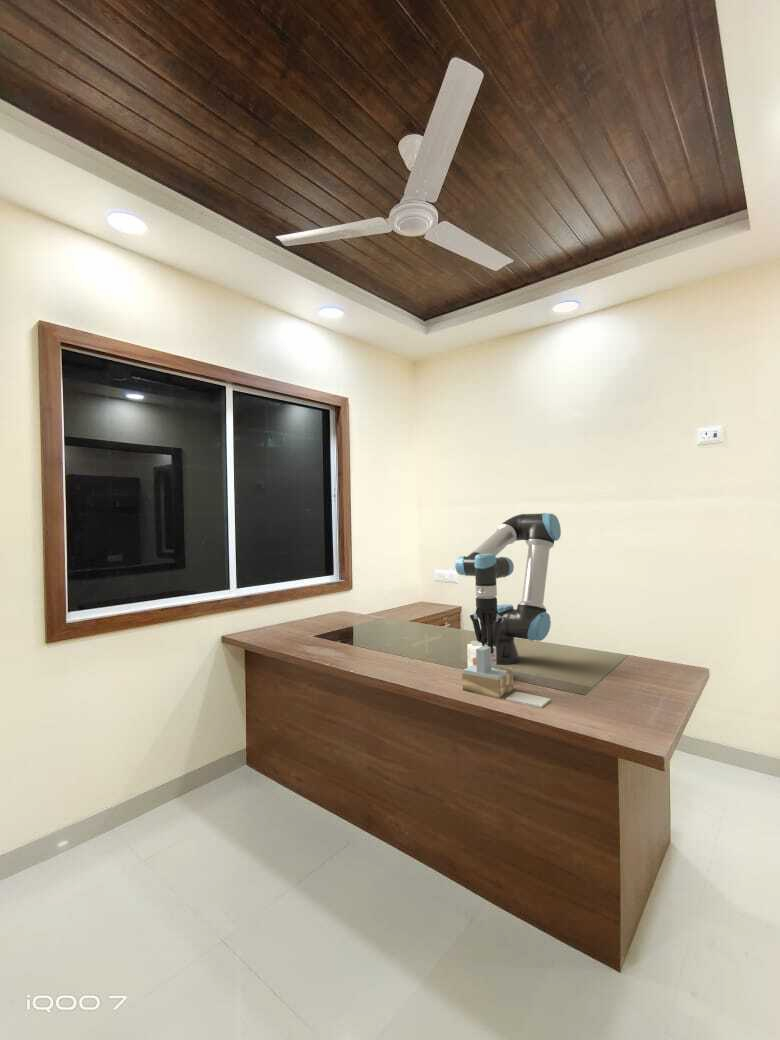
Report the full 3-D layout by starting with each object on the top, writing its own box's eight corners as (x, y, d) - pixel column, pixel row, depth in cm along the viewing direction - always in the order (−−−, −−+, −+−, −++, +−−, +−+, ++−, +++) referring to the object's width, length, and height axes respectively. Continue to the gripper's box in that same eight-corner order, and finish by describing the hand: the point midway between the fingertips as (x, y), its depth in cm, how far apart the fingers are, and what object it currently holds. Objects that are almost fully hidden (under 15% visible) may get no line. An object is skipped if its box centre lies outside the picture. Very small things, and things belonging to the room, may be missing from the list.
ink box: (476, 680, 179) (475, 644, 179) (467, 673, 187) (466, 639, 187) (497, 678, 181) (496, 642, 181) (487, 671, 189) (486, 637, 189)
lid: (476, 669, 176) (475, 641, 176) (510, 675, 167) (509, 646, 168) (463, 675, 169) (462, 647, 169) (498, 683, 160) (497, 652, 160)
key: (475, 662, 176) (475, 656, 176) (487, 664, 173) (487, 659, 173) (472, 663, 175) (472, 658, 175) (485, 666, 172) (485, 660, 172)
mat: (516, 693, 164) (516, 691, 164) (550, 700, 157) (550, 698, 157) (506, 700, 158) (506, 698, 158) (541, 708, 151) (541, 706, 151)
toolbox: (477, 681, 177) (477, 662, 177) (513, 689, 168) (512, 668, 168) (462, 690, 169) (462, 669, 169) (499, 698, 160) (498, 676, 160)
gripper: (465, 596, 173) (467, 661, 173) (498, 599, 165) (500, 667, 165) (475, 594, 179) (477, 656, 179) (507, 596, 171) (509, 662, 171)
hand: (488, 662), depth 172 cm, fingers closed
